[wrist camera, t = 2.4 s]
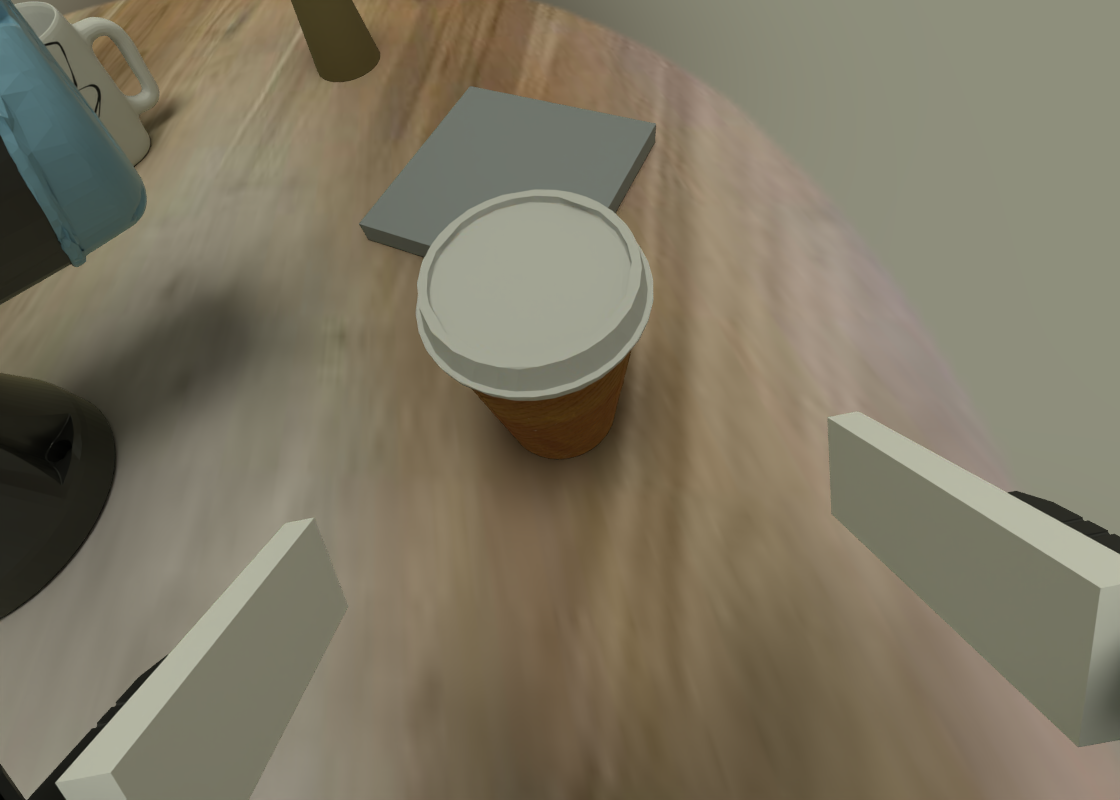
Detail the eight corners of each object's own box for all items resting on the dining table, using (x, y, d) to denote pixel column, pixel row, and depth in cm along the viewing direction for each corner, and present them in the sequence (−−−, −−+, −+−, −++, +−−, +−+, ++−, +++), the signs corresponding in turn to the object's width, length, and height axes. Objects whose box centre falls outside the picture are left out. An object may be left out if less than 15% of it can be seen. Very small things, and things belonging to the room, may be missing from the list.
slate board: (368, 239, 38) (359, 223, 37) (474, 103, 44) (470, 86, 43) (565, 302, 34) (563, 287, 32) (654, 142, 40) (655, 123, 38)
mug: (160, 94, 50) (60, -29, 41) (209, 121, 47) (114, -4, 38) (53, 167, 47) (-81, 49, 38) (99, 201, 44) (-34, 83, 35)
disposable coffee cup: (462, 474, 29) (369, 365, 19) (501, 332, 33) (444, 176, 23) (633, 500, 28) (639, 395, 17) (652, 347, 32) (667, 185, 21)
